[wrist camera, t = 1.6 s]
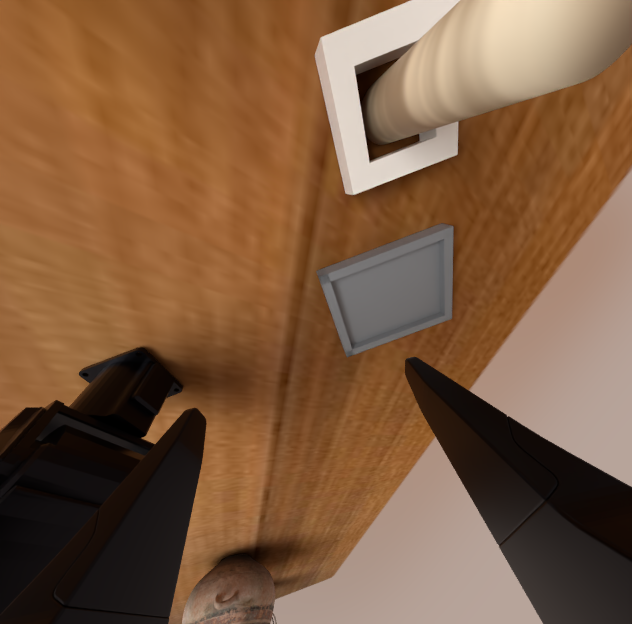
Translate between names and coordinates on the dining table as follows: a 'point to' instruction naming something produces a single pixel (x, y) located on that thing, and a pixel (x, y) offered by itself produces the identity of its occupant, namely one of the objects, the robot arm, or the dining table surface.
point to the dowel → (494, 61)
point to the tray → (391, 289)
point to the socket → (343, 98)
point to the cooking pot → (232, 594)
